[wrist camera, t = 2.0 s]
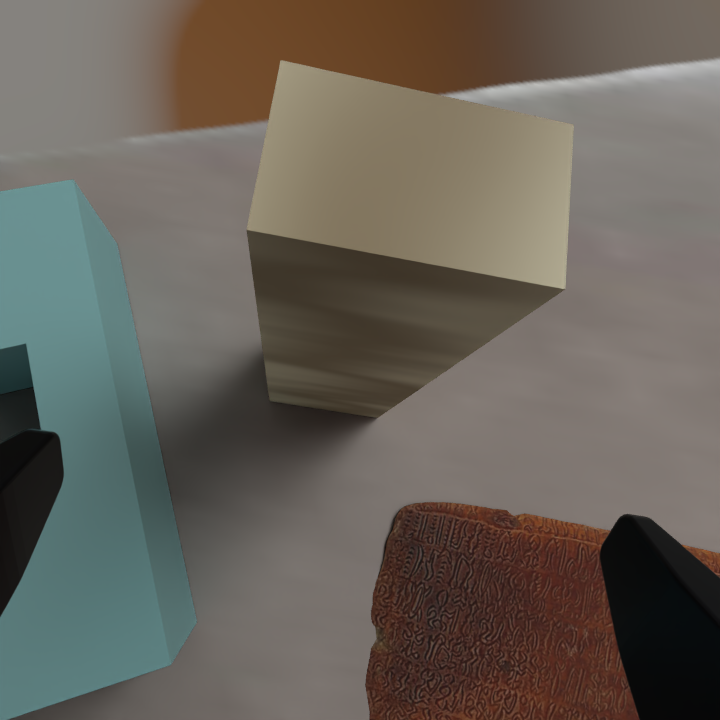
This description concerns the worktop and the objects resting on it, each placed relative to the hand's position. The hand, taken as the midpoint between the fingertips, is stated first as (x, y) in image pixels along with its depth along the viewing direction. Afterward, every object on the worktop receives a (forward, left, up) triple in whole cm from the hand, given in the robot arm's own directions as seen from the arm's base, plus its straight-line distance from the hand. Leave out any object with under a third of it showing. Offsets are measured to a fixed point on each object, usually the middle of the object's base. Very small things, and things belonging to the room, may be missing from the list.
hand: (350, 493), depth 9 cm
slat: (+4, +1, -11) cm, 12 cm away
